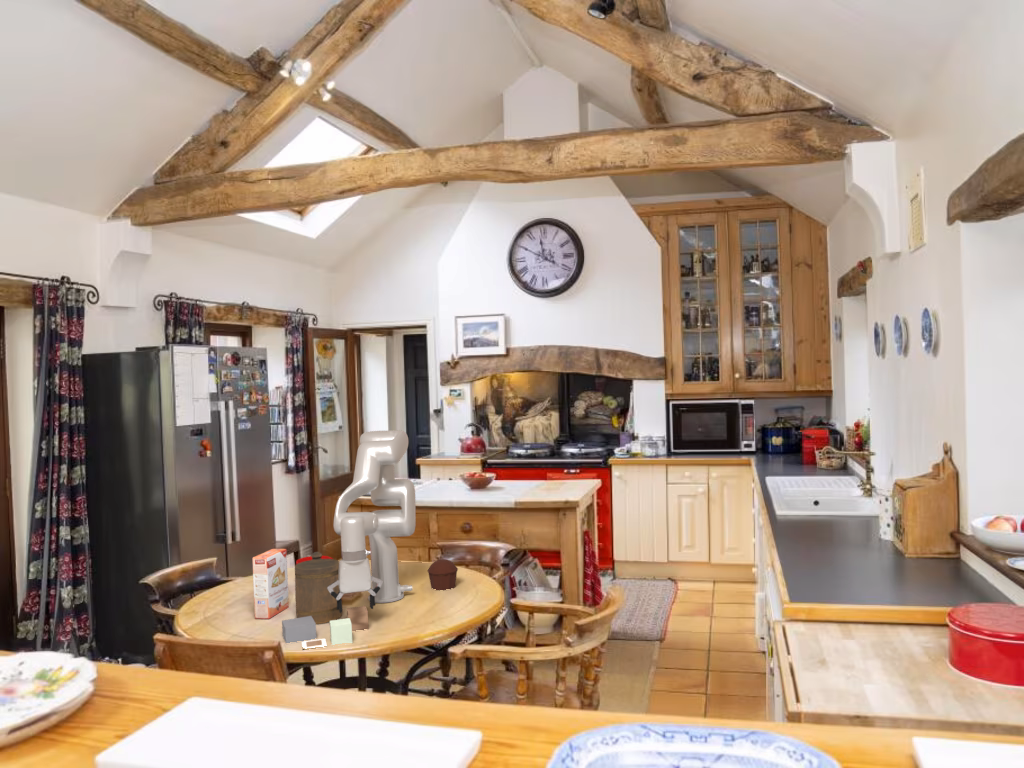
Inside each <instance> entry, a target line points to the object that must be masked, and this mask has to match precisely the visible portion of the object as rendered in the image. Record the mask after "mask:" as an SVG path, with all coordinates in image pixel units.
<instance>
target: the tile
mask: <svg viewBox="0 0 1024 768" xmlns="http://www.w3.org/2000/svg"><path fill="white" fill-rule="evenodd" d="M326 640H327V639H326V638H324V637H323V638H317V639H314V640H308V641H302V642H301V647H303V648H305V649H307V648H315V647H323V648H325V647H324V646H327V647H328V645H327V641H326Z"/></svg>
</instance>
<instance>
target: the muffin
mask: <svg viewBox="0 0 1024 768" xmlns="http://www.w3.org/2000/svg"><path fill="white" fill-rule="evenodd" d="M458 570H459V568H458V567H457V566H456V564H455V563H454V562H452V561H451V560H449V559H443V558H442V559H438V560H435V561H434V562H433V563H432V564H431V565H430V566H429V567H428V569H427V573H428V577H429V583H430V587H431V589H432V588H433V589H432V590H434V589H436V590H435V591H440V590H443V591H447V590H446V589H450V590H452V589H451V588H453V589H455V587H456V583H457V572H458Z"/></svg>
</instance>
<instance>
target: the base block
mask: <svg viewBox="0 0 1024 768" xmlns="http://www.w3.org/2000/svg"><path fill="white" fill-rule="evenodd" d="M281 630H282V631H281V632H282V637H283V640H284V642H285V644H286V643H290V642H296V643H298V642H297V641H302V642H303V641H304V640H308V641H310V640H311V639H314V640H316V639H315V638H317V624H316V623H315V621H314V620H313V618H312V616H307V617H301V618H289V619H283V620H281Z"/></svg>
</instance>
